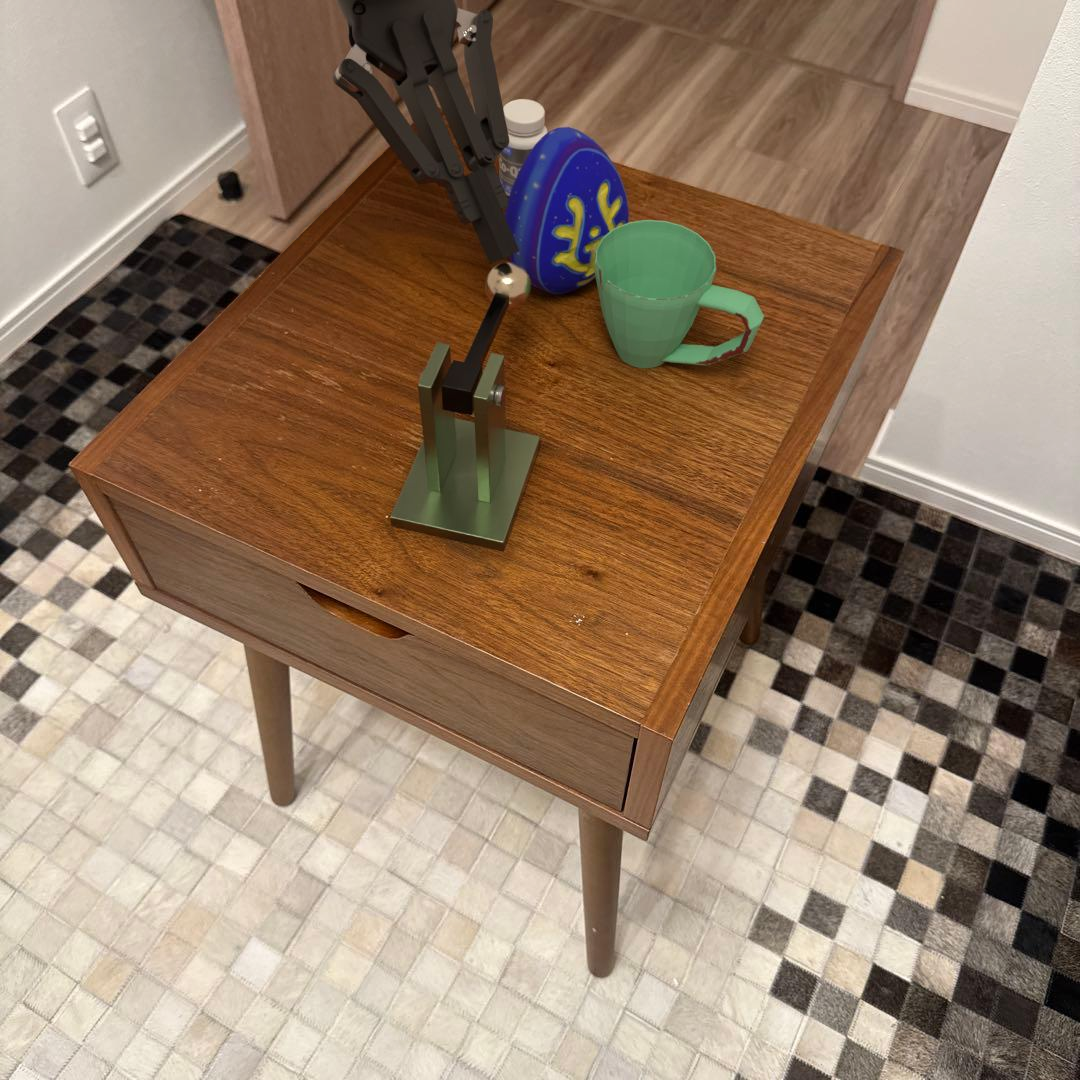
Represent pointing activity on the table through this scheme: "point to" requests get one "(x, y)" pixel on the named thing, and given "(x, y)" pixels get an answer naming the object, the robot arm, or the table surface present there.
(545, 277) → the ornament
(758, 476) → the table surface
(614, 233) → the mug
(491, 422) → the bracket
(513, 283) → the lever
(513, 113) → the pill bottle
